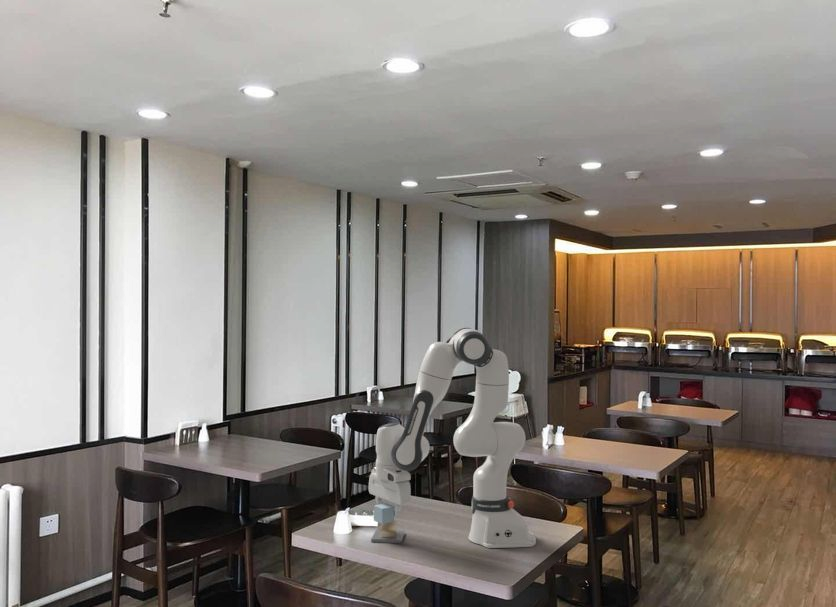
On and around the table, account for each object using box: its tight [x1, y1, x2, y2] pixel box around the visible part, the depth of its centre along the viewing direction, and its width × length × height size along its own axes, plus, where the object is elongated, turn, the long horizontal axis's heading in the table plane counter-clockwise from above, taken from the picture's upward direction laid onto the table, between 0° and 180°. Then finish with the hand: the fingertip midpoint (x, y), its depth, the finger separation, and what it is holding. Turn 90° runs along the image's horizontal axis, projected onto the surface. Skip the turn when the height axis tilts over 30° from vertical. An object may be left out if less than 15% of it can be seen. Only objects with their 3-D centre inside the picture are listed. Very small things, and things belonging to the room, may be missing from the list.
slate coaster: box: [370, 529, 406, 544], centre depth 228 cm, size 10×10×1 cm
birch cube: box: [380, 517, 397, 537], centre depth 228 cm, size 5×5×5 cm
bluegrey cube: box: [373, 502, 396, 525], centre depth 227 cm, size 5×5×5 cm
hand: (388, 512), depth 228 cm, fingers open, 8 cm apart
